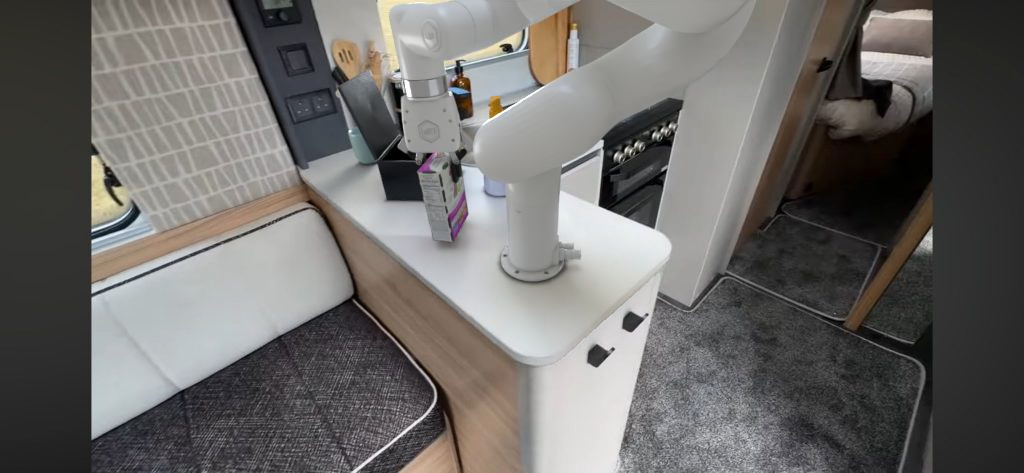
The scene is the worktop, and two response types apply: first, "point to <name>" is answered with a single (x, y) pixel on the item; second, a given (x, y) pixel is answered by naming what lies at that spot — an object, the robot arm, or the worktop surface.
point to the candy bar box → (443, 197)
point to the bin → (400, 174)
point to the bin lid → (369, 112)
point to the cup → (360, 147)
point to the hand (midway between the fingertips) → (442, 179)
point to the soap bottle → (489, 184)
